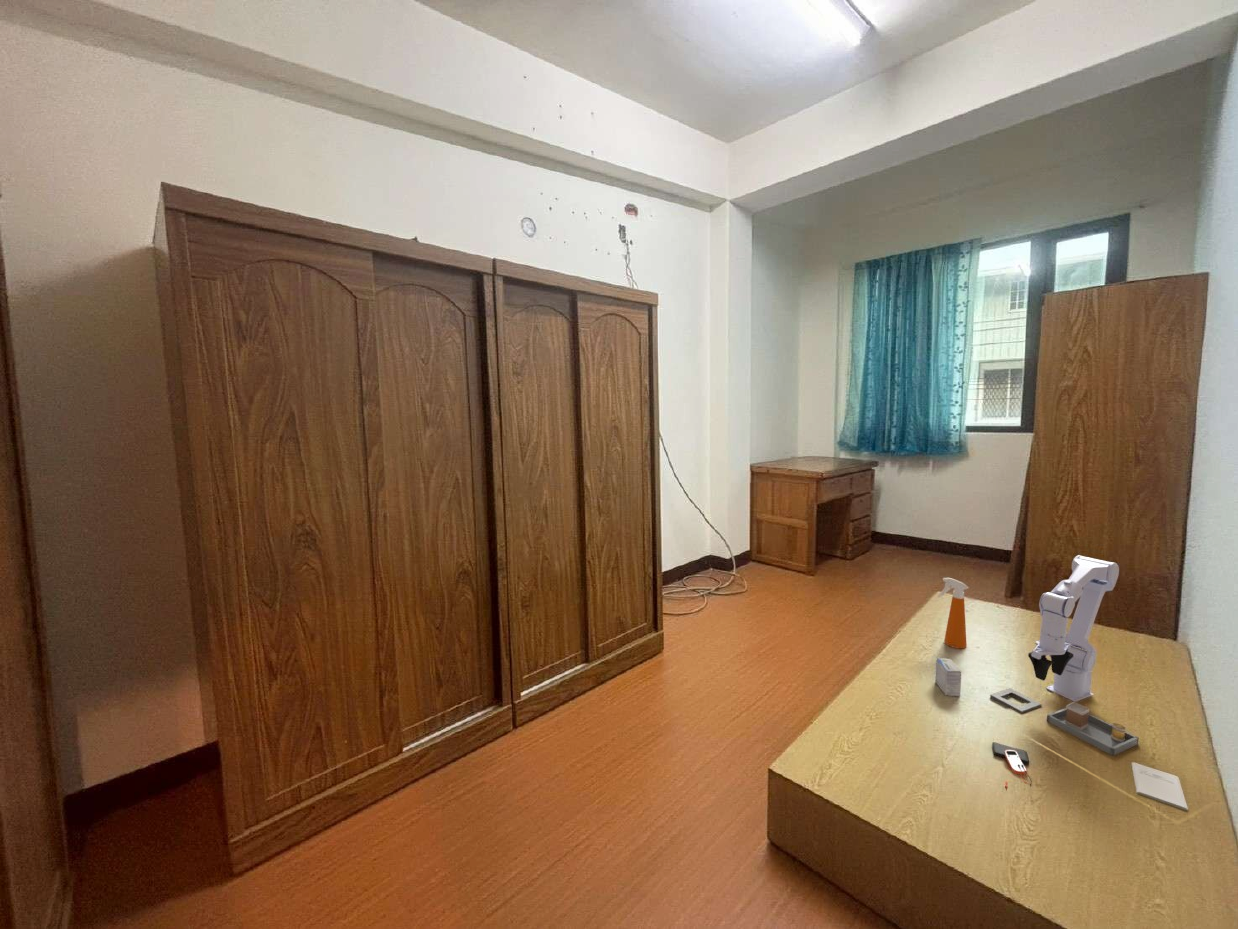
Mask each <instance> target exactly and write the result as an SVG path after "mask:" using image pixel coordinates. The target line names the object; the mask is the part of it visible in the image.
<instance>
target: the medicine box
mask: <svg viewBox="0 0 1238 929" xmlns="http://www.w3.org/2000/svg"><path fill="white" fill-rule="evenodd" d="M934 678H935V680H934V681H935V683H936V684H937V686H938V687H939V688H940V689H941V692H942V693H943V694H944V695H945V696H947V695H948V696H950V697H951V696H952V697H961V689H962V688H961V685H962V671H961V670H960V669H959V667H958V666H957V664H955V663H954V661H953V660H952V659H951V658H940V657H938V658H936V662H935V677H934Z"/></svg>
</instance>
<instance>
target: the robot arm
mask: <svg viewBox="0 0 1238 929" xmlns="http://www.w3.org/2000/svg"><path fill="white" fill-rule="evenodd" d="M1072 559H1073V560H1072V562H1071V572H1072V573H1071V575H1070V576H1069V578H1068V579H1063V580H1061V581H1060V582H1058V584H1057V585H1056V586H1055V587H1054V588H1053V589H1052V590H1051V591H1048V592H1044V593H1042V594H1041V596H1040V599H1039V602H1038V606H1039V610H1040V611H1039V615H1040V616H1041V622H1040V631H1039V632H1040V634H1039V640H1037V641H1035V642H1034V644H1035V645H1036V647H1035V648H1034V649H1032V650H1031V652H1028V658H1029V660H1030V661H1031V664H1032V666H1033V670H1034V675H1035V678H1037V679H1038V680H1041V681H1045V680H1046V679H1047V676H1048V672H1049V669H1050V668H1051V672H1052V673H1054V675H1053V676H1054V677H1053V683H1052V685H1049V686H1047V687H1045V688H1046V690H1048V691H1049V692H1052V693H1056V694H1058V695H1060V696H1062V697H1064V698H1066V699H1068V700H1070V701H1073V702H1075V703H1077V702H1079V701H1080V700H1084V699H1086V698H1089V697H1091V696H1094V695H1095V694H1094V693H1092V692H1091V687H1092V678H1093V675H1092V673H1091V672H1092V671H1093V669H1094V668H1095V665H1096V661H1097V660H1096V658H1097V654H1098V652H1097V650H1096V647H1095V646H1093V644H1092V643H1091V642H1090V641H1089V637H1090V636H1091V632H1092V628H1093V626H1094V623H1095V621H1096V617H1097V614H1098V611H1099V609H1100V606H1101V603H1102V601H1103V597H1104V595H1105V593H1106V592H1110V591H1114V588H1115V587H1116V584H1117V581H1118V578H1119V574H1120V567H1119V565H1118V563H1116V562H1114V561H1113V562H1111V561H1108V560H1107V561H1106V560H1104V559H1103V560H1102V559H1097V558H1093V557H1088V556H1083V555H1080V554H1078V555H1076V556H1075V557H1073V558H1072ZM1077 601H1078V603H1077V605H1076V602H1077ZM1075 606H1076V609H1075V611H1074V613H1073V610H1074V608H1075ZM1072 613H1073V614H1074V615H1073V618H1072V621H1071V623H1070V626H1069V628H1068V620H1069V617H1070V616H1071V614H1072ZM1067 630H1068V632H1067ZM1047 656H1049V658H1050V659H1051V660H1050V659H1048V658H1047Z"/></svg>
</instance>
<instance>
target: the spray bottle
mask: <svg viewBox="0 0 1238 929" xmlns="http://www.w3.org/2000/svg"><path fill="white" fill-rule="evenodd" d="M942 581H943V582H945V583H944V587H943V589H942V591H940V592H939V594H938V595H937V596H936V597H937V598H940V597H942V596H944V595H945V594H946V593H948V591H950V590H952V589H953V591H952V597H951V601H950V602H951V603H950V609H949V613H948V618H947V619H948V620H947V624H946V630H945V634H944V640H943V641H944V644H946V645H947V646H949V647H950V648H951V647H952V648H953V649H954V648H955V649H965V648H967V646H968V645H967V630H966V628H967V627H966V626H967V625H966V608H965V592H964V590H967V589H970V587H969V586H968V585H967V584H965V583H964V582H962V581H959V580H957V579H954V578H951V577H948V576H947V577H942Z"/></svg>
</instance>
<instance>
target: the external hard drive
mask: <svg viewBox="0 0 1238 929" xmlns="http://www.w3.org/2000/svg"><path fill="white" fill-rule="evenodd" d="M1130 764H1131V769H1132V770H1131V771H1132V775H1133V779H1134V780H1133V781H1134V785H1135V786H1134V787H1135V792H1136V794H1138V795H1141V796H1143V797H1146V798H1149V799H1152V800H1155V801H1158V802H1161V803H1163V804H1166V805H1170V806H1171V807H1176V808H1178V809H1181V810H1184V811H1187V812H1188V811H1189V807H1188V805H1187V801H1186V797H1185V795H1184V791H1183V788H1182V787H1183V786H1182V784H1181V781H1180V778H1179V776H1177V775H1174V774H1171V773H1170V772H1169V773H1168V772H1165V771H1161V770H1159V769H1155V768H1153V767H1151V766H1150V767H1149V766H1146V765H1144V764H1140V763H1137V762H1134V761H1133V762H1131V763H1130Z"/></svg>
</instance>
